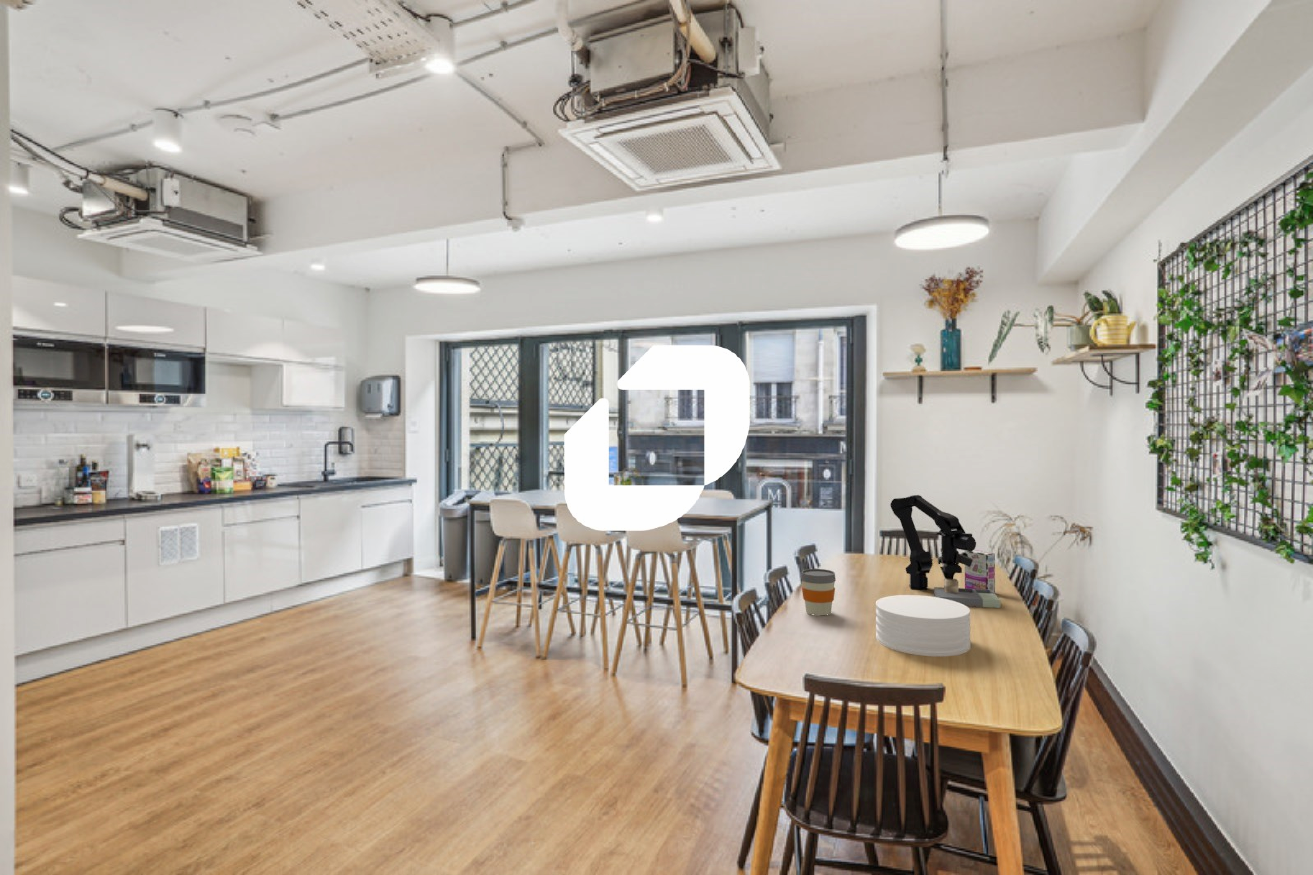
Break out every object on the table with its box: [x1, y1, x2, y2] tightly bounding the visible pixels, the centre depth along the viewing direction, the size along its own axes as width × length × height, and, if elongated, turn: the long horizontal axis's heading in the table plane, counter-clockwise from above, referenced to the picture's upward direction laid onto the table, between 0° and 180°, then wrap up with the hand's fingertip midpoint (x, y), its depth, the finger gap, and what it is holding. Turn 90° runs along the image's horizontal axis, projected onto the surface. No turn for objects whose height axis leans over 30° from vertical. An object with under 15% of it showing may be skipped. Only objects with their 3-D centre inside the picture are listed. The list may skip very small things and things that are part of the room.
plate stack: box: [875, 594, 971, 657], centre depth 210 cm, size 28×28×12 cm
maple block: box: [943, 577, 959, 593], centre depth 261 cm, size 4×4×4 cm
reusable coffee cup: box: [800, 568, 836, 616], centre depth 244 cm, size 13×13×15 cm
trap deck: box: [933, 586, 1001, 609], centre depth 257 cm, size 21×16×3 cm
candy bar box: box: [964, 549, 996, 594], centre depth 272 cm, size 11×5×16 cm, turn 25°
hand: (949, 585), depth 265 cm, fingers closed
